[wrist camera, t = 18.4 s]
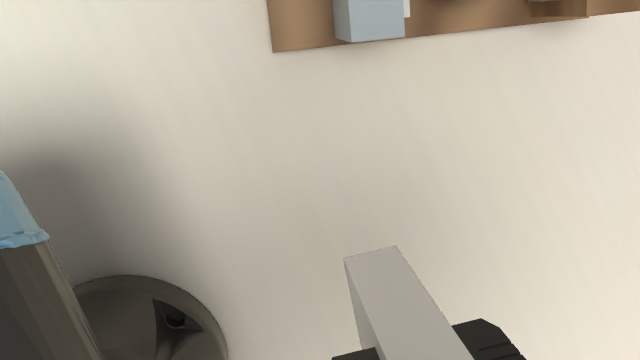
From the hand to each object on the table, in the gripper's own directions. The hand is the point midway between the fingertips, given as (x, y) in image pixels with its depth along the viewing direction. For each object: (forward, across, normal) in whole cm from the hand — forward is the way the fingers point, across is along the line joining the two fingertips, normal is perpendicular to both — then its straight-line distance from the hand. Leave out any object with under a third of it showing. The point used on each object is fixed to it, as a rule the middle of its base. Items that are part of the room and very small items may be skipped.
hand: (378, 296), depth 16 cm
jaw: (+25, +3, +11) cm, 27 cm away
